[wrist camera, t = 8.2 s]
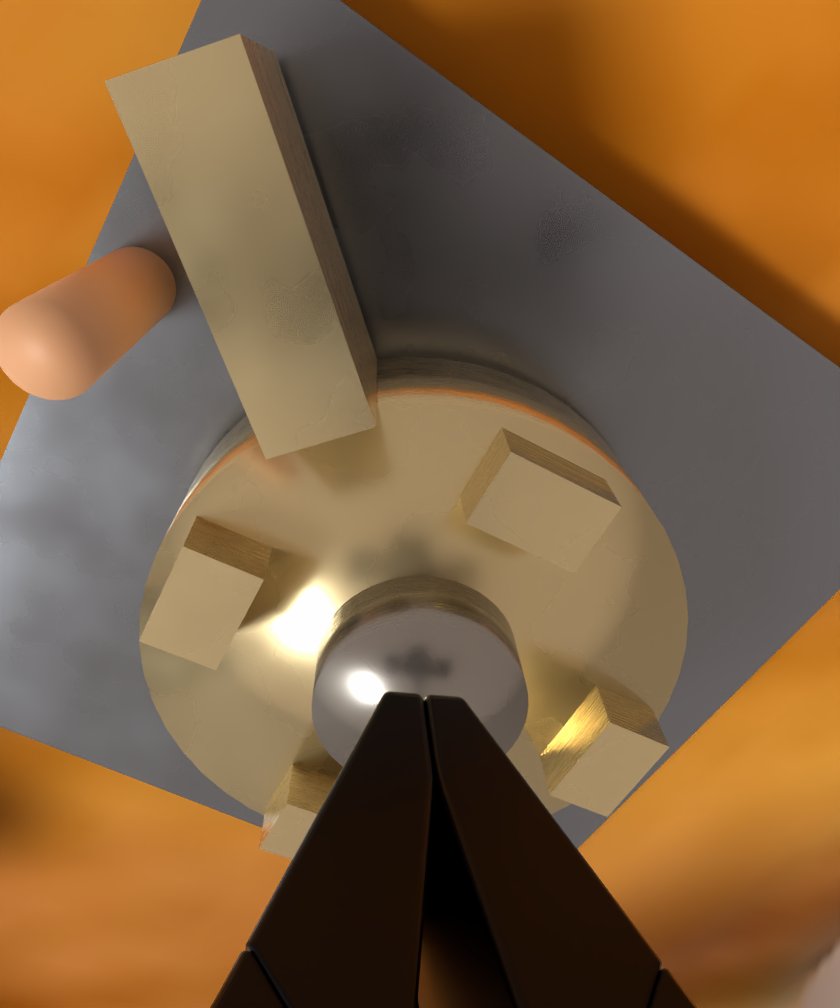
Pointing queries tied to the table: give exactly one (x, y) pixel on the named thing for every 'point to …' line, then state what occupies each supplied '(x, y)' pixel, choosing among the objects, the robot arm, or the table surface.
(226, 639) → the gold disc with bar
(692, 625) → the flange plate
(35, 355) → the stop post
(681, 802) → the table surface
